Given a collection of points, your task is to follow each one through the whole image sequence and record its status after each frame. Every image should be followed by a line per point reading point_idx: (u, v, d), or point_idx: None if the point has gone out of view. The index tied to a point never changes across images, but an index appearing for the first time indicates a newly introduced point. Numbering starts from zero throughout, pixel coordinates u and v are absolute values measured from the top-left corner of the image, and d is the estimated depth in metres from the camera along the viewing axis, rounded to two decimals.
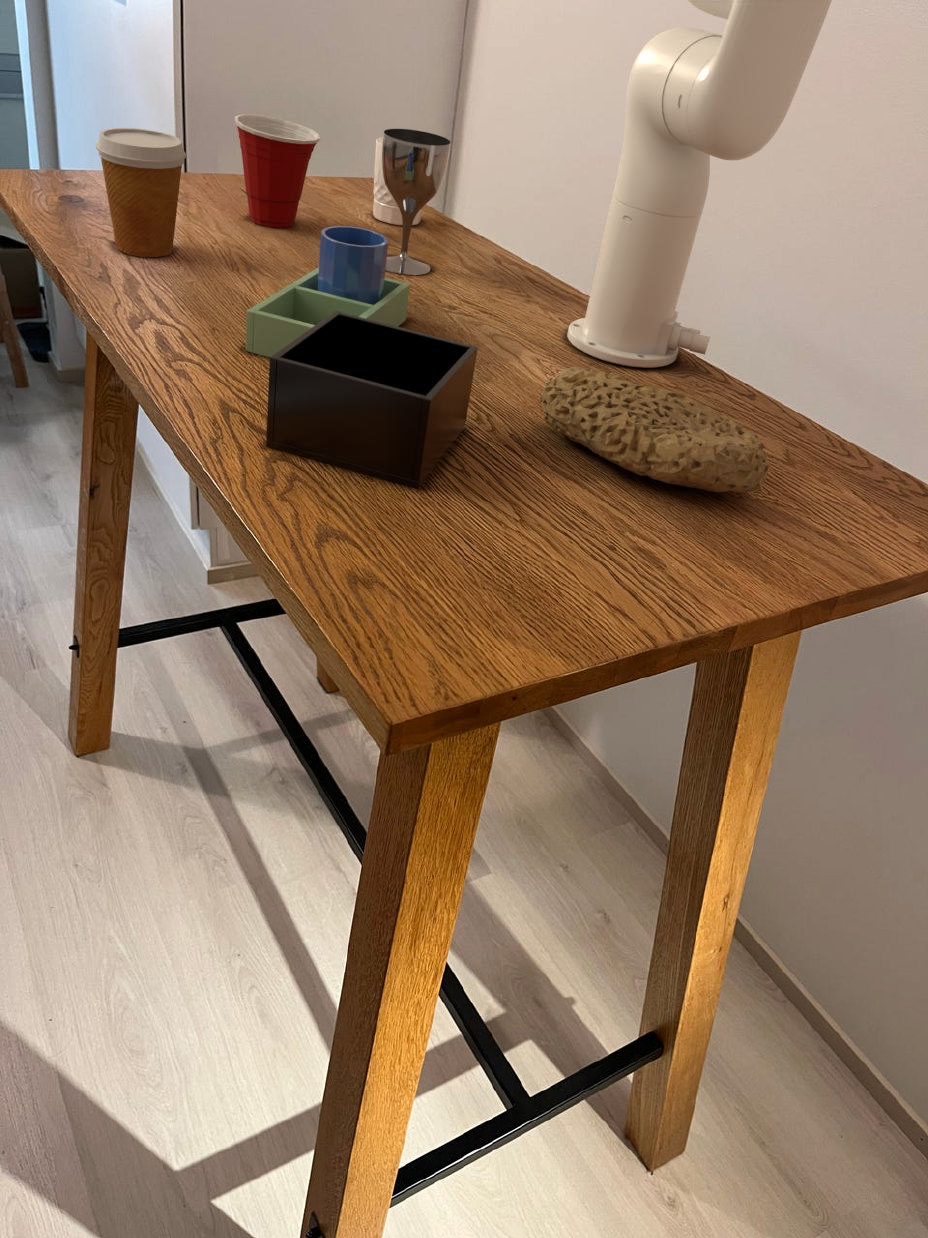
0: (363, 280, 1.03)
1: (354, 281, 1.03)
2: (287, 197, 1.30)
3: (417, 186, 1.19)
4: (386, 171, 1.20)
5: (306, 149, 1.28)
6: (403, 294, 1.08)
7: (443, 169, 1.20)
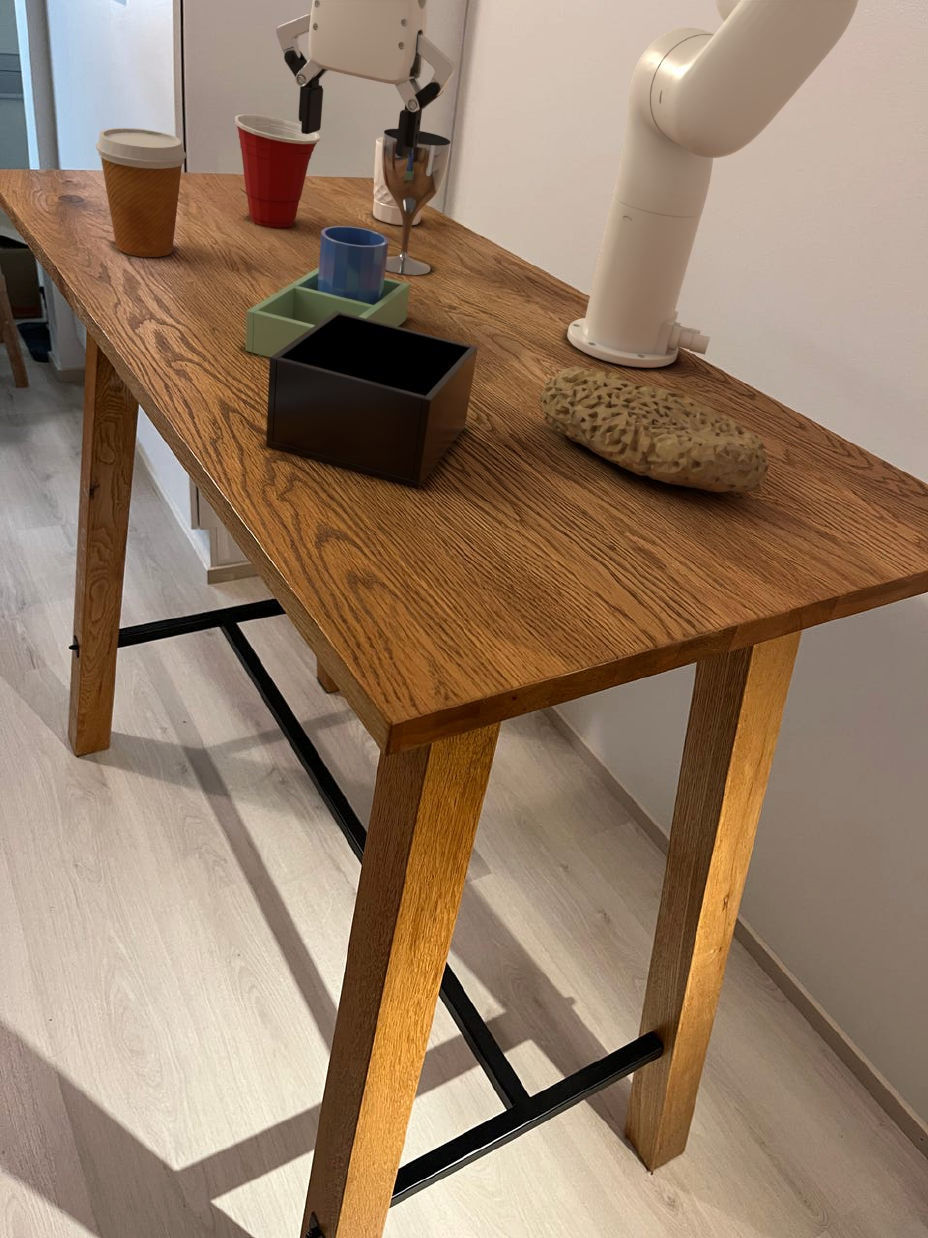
0: (363, 280, 1.03)
1: (354, 281, 1.03)
2: (287, 197, 1.30)
3: (417, 186, 1.19)
4: (386, 171, 1.20)
5: (306, 149, 1.28)
6: (403, 294, 1.08)
7: (443, 169, 1.20)
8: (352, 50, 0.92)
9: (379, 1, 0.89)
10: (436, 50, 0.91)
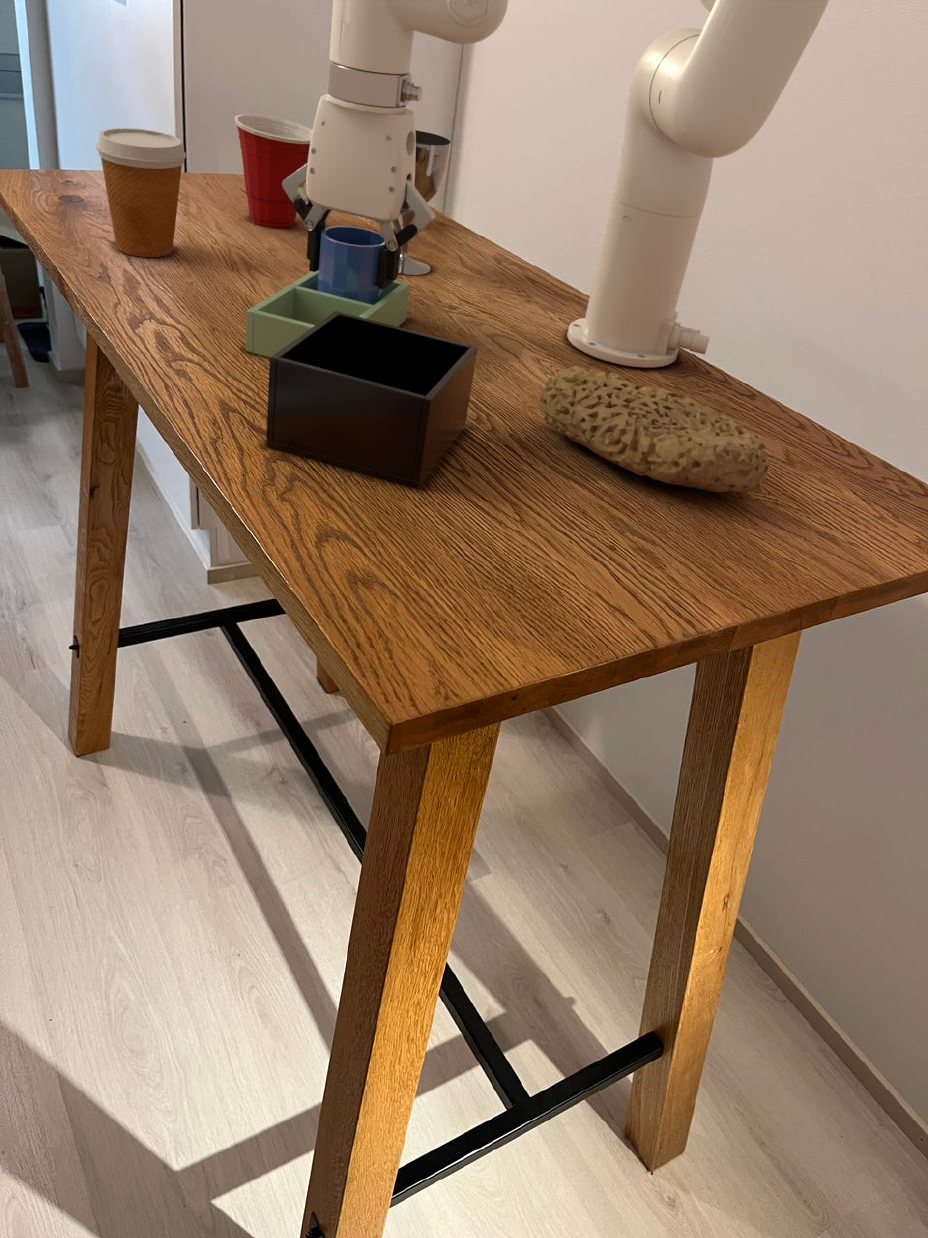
0: (363, 280, 1.03)
1: (353, 281, 1.03)
2: (287, 197, 1.30)
3: (417, 186, 1.19)
4: None
5: (306, 149, 1.28)
6: (403, 294, 1.08)
7: (443, 169, 1.20)
8: (346, 192, 0.99)
9: (371, 151, 0.96)
10: (419, 199, 0.99)
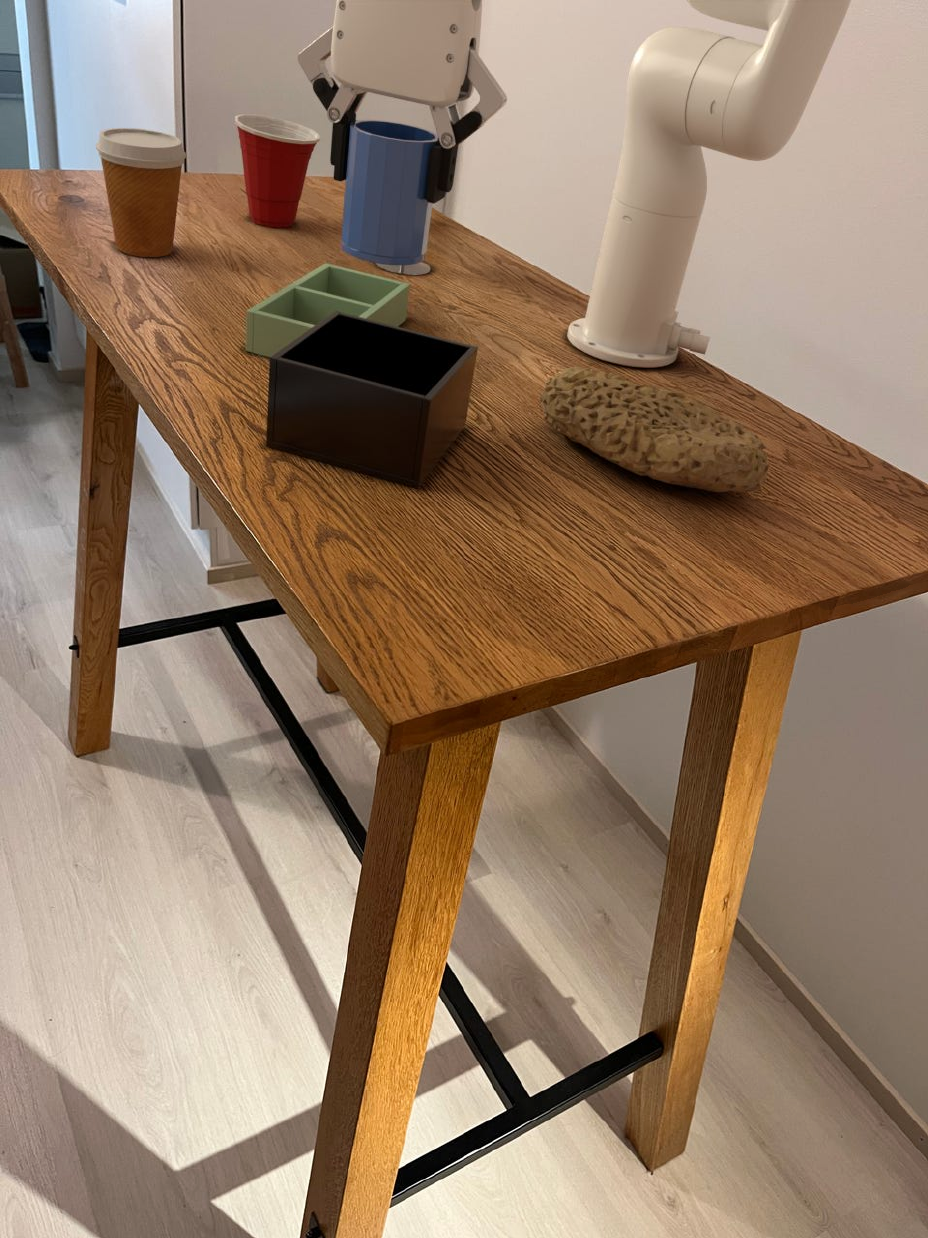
0: (407, 190, 0.76)
1: (394, 190, 0.76)
2: (287, 197, 1.30)
3: None
4: None
5: (306, 149, 1.28)
6: (403, 294, 1.08)
7: None
8: (386, 64, 0.72)
9: (422, 2, 0.69)
10: (487, 74, 0.72)
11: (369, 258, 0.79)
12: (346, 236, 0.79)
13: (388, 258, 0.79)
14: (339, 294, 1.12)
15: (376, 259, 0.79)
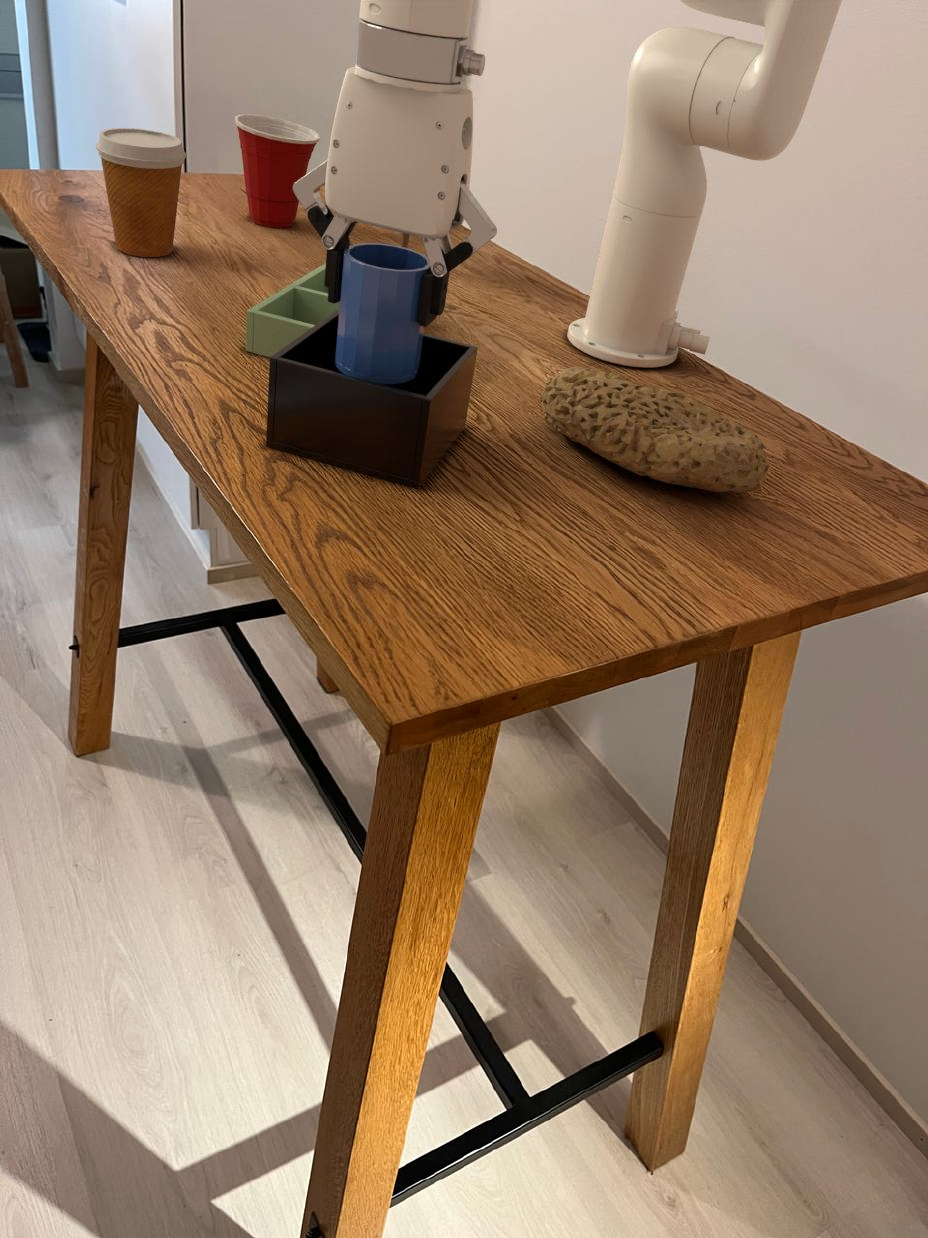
0: (400, 315, 0.78)
1: (387, 316, 0.78)
2: (287, 197, 1.30)
3: None
4: None
5: (306, 149, 1.28)
6: None
7: None
8: (379, 199, 0.74)
9: (414, 144, 0.71)
10: (477, 209, 0.74)
11: (363, 378, 0.80)
12: (340, 356, 0.81)
13: (381, 378, 0.80)
14: None
15: (369, 379, 0.80)
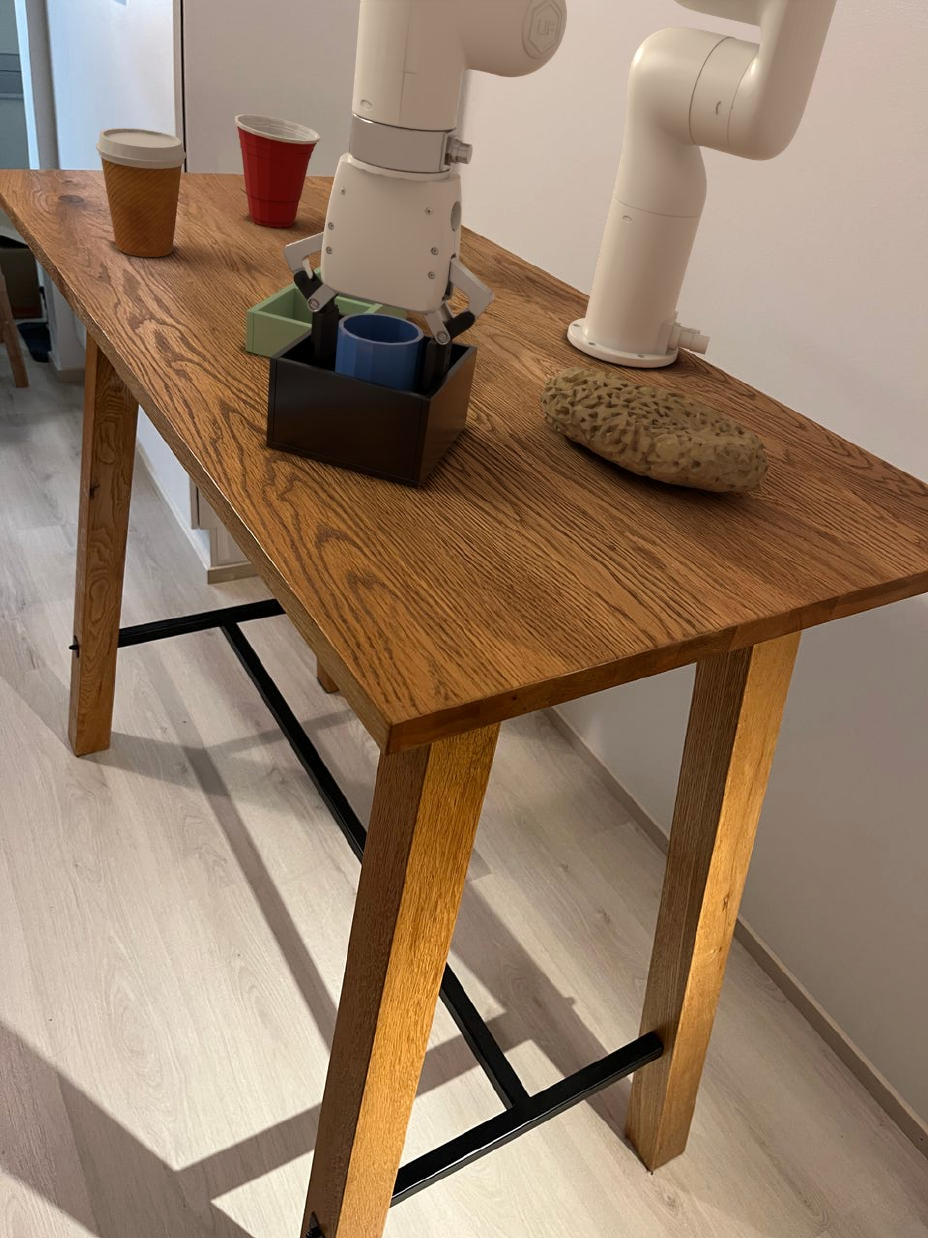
0: (392, 385, 0.81)
1: None
2: (287, 197, 1.30)
3: None
4: None
5: (306, 149, 1.28)
6: None
7: None
8: (372, 278, 0.77)
9: (405, 228, 0.74)
10: (471, 279, 0.77)
11: None
12: None
13: None
14: (339, 294, 1.12)
15: None
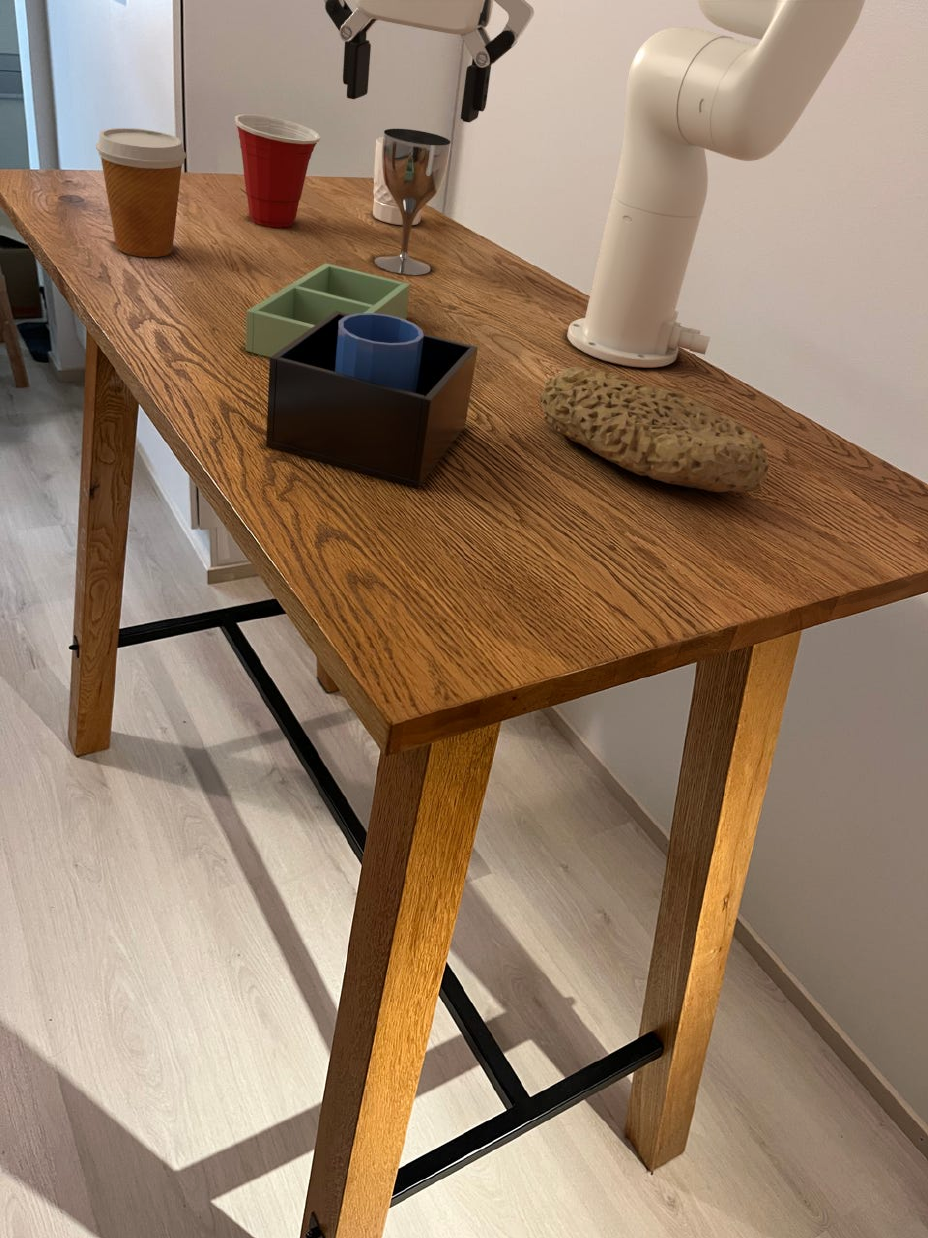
0: (392, 385, 0.81)
1: None
2: (287, 197, 1.30)
3: (417, 186, 1.19)
4: (386, 171, 1.20)
5: (306, 149, 1.28)
6: (403, 294, 1.08)
7: (443, 169, 1.20)
8: None
9: None
10: None
11: None
12: None
13: None
14: (339, 294, 1.12)
15: None
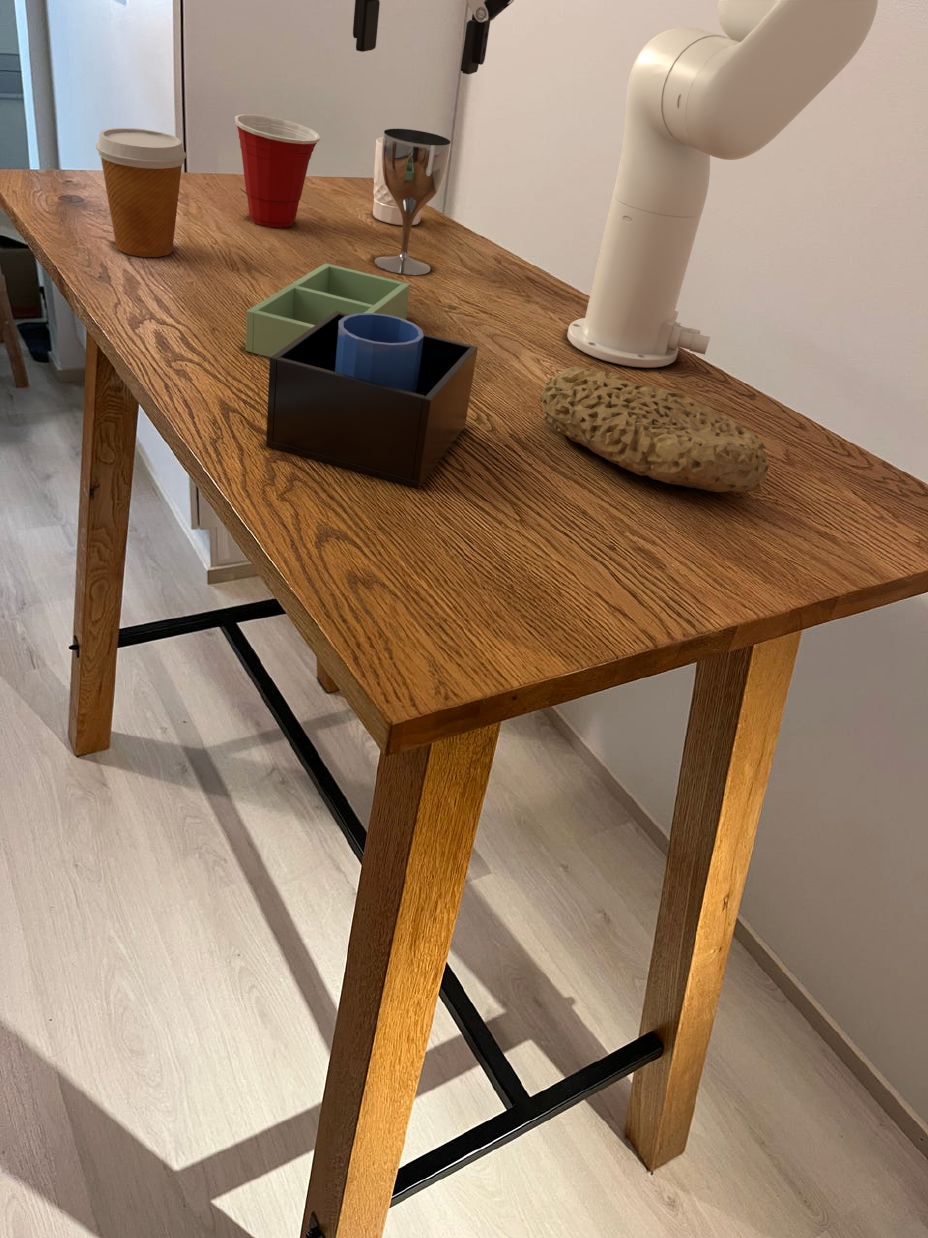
0: (392, 385, 0.81)
1: None
2: (287, 197, 1.30)
3: (417, 186, 1.19)
4: (386, 171, 1.20)
5: (306, 149, 1.28)
6: (403, 294, 1.08)
7: (443, 169, 1.20)
8: None
9: None
10: None
11: None
12: None
13: None
14: (339, 294, 1.12)
15: None
